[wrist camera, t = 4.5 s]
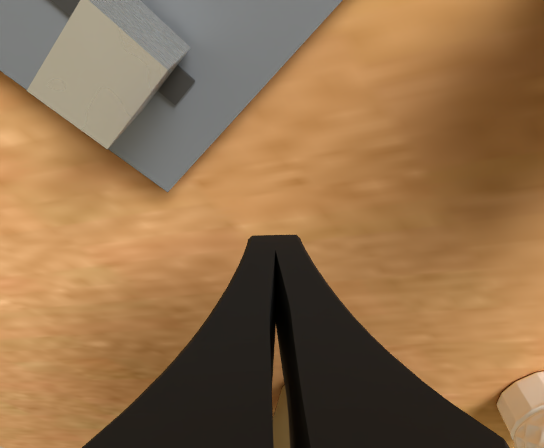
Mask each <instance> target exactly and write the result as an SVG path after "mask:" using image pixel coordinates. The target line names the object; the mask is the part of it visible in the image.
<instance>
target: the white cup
mask: <svg viewBox="0 0 544 448" xmlns="http://www.w3.org/2000/svg"><path fill="white" fill-rule="evenodd" d="M497 408H498V410H499V412H500V415H501V417H502V419H503V421H504V423H505V425H506V427H507V429H508V431H509V433H510V435H511V438H512V440H513V441H514V448H544V371H542V372H537V373H534V374H531V375H529V376H527V377H524V378H522V379H520V380H518V381H516V382H514V383H513V384H512V385H511V386H509V387H508V388H507V389H506V390H505V391H503V392H502V393H501V396H500V398H499V400H498V402H497Z"/></svg>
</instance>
